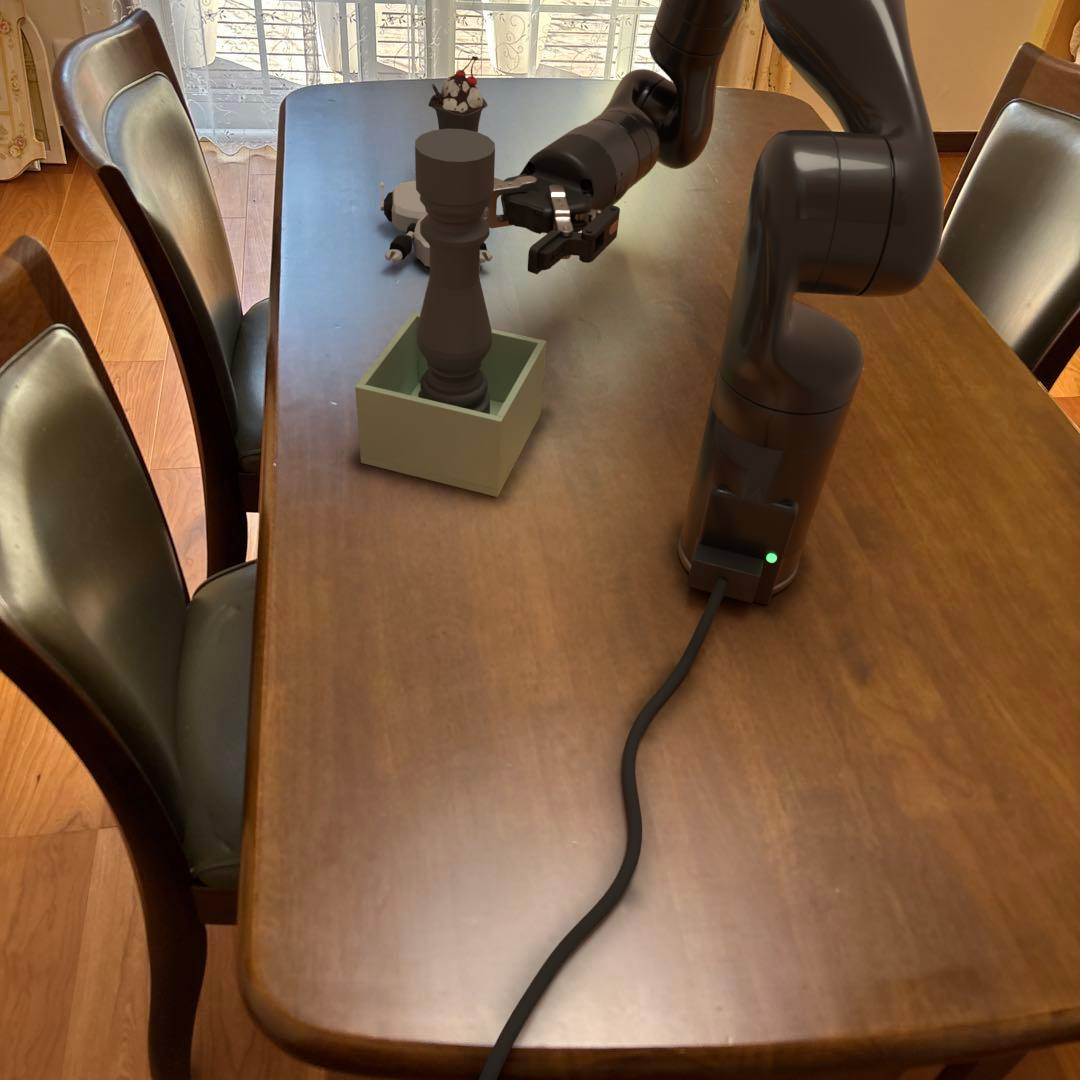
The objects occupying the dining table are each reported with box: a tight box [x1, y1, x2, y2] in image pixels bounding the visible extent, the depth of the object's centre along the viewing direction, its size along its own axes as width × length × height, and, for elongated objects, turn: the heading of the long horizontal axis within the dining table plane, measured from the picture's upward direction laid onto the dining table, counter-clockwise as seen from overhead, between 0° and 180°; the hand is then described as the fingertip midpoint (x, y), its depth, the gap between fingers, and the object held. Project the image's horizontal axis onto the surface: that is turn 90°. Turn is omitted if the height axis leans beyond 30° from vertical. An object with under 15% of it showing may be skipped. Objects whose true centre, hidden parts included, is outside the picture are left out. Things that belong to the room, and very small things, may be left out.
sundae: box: [428, 55, 488, 133], centre depth 120 cm, size 7×7×15 cm
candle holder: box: [414, 129, 496, 414], centre depth 80 cm, size 6×6×25 cm
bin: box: [354, 311, 547, 498], centre depth 87 cm, size 12×12×8 cm
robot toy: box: [380, 179, 493, 268], centre depth 113 cm, size 12×4×15 cm
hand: (485, 246), depth 81 cm, fingers open, 8 cm apart
